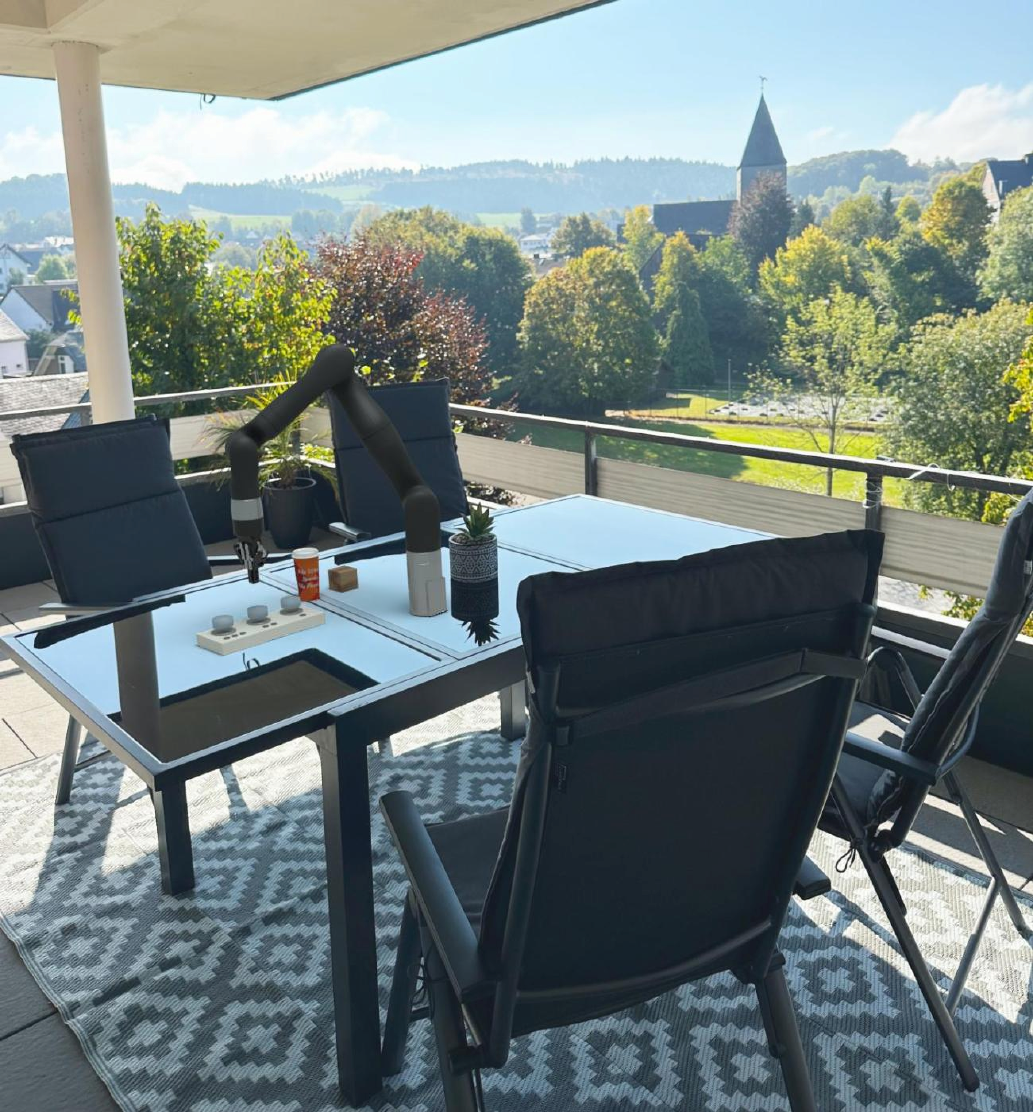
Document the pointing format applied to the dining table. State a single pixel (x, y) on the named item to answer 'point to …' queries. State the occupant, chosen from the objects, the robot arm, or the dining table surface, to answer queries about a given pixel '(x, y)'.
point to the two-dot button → (257, 611)
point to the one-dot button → (290, 602)
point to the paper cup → (307, 573)
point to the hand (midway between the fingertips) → (254, 582)
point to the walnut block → (343, 579)
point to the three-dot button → (222, 622)
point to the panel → (259, 629)
